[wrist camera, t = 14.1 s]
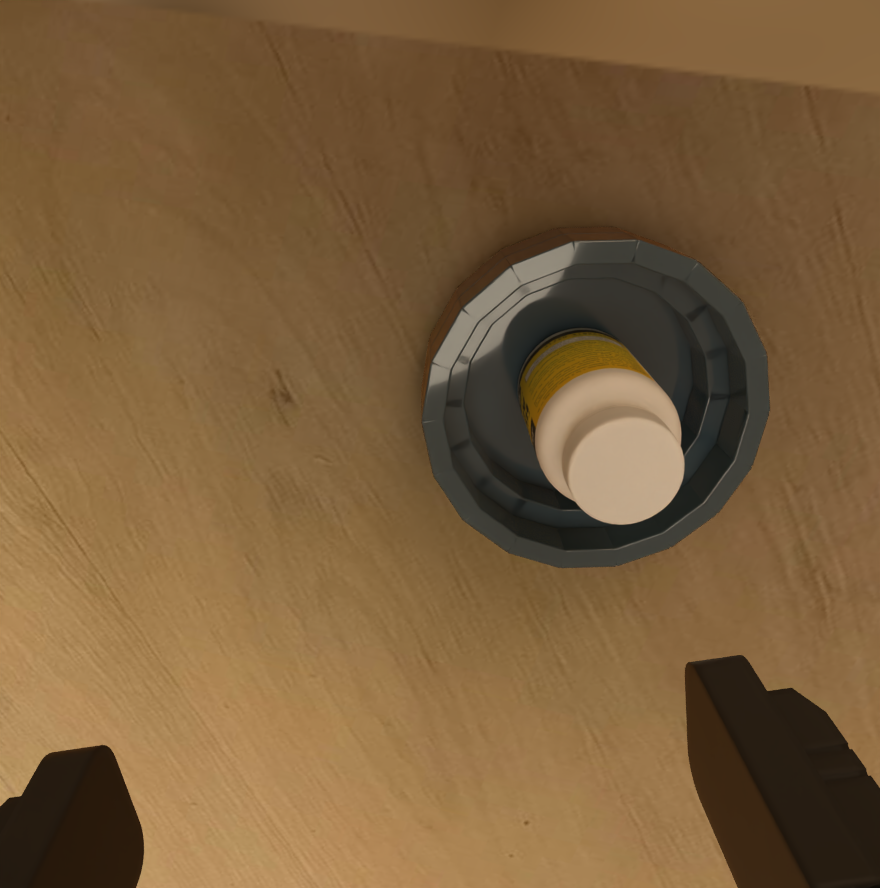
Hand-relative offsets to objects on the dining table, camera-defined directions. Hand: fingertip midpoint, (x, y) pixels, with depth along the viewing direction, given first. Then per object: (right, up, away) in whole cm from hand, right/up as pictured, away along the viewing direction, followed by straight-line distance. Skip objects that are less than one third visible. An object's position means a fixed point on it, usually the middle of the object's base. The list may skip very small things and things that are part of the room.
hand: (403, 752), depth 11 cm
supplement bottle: (+7, +7, +25) cm, 27 cm away
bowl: (+7, +7, +26) cm, 28 cm away
